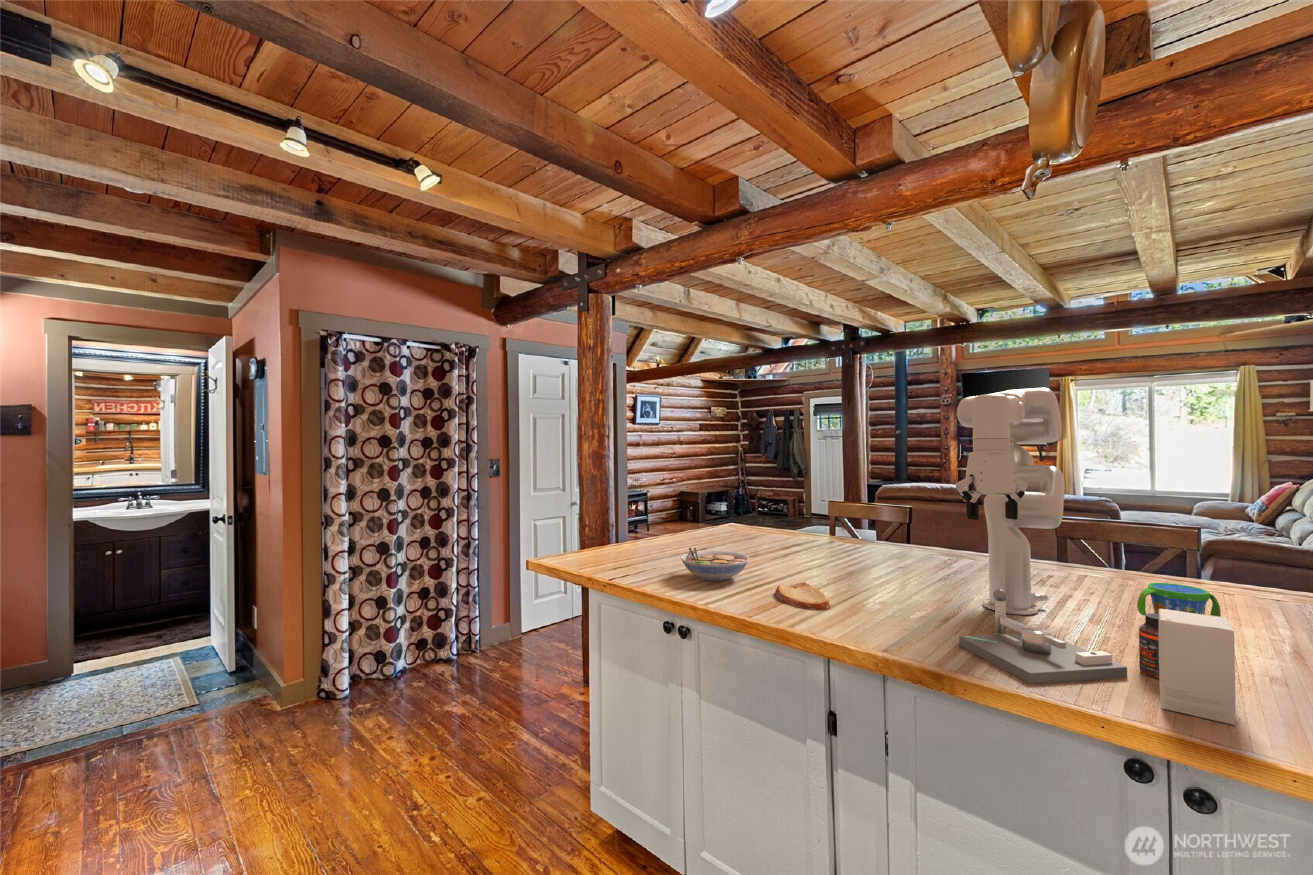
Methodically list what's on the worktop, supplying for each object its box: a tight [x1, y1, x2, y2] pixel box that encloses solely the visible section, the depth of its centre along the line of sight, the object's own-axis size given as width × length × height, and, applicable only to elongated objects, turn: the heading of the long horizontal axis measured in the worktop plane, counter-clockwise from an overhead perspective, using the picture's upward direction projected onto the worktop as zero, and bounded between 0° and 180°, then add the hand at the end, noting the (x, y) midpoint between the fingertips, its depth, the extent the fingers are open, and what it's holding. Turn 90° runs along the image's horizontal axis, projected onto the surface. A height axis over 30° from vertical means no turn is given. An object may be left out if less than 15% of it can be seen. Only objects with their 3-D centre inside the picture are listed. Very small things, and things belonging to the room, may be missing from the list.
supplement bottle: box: [1138, 612, 1159, 680], centre depth 105 cm, size 6×6×11 cm
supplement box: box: [1158, 609, 1237, 726], centre depth 93 cm, size 9×9×15 cm
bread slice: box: [774, 581, 832, 611], centre depth 160 cm, size 18×18×4 cm
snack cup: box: [1136, 582, 1222, 617], centre depth 130 cm, size 16×10×10 cm
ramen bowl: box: [680, 547, 750, 583], centre depth 184 cm, size 25×23×8 cm
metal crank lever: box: [993, 589, 1067, 654], centre depth 116 cm, size 18×5×10 cm, turn 7°
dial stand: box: [958, 632, 1128, 685], centre depth 113 cm, size 20×20×4 cm
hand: (992, 519), depth 130 cm, fingers open, 9 cm apart
